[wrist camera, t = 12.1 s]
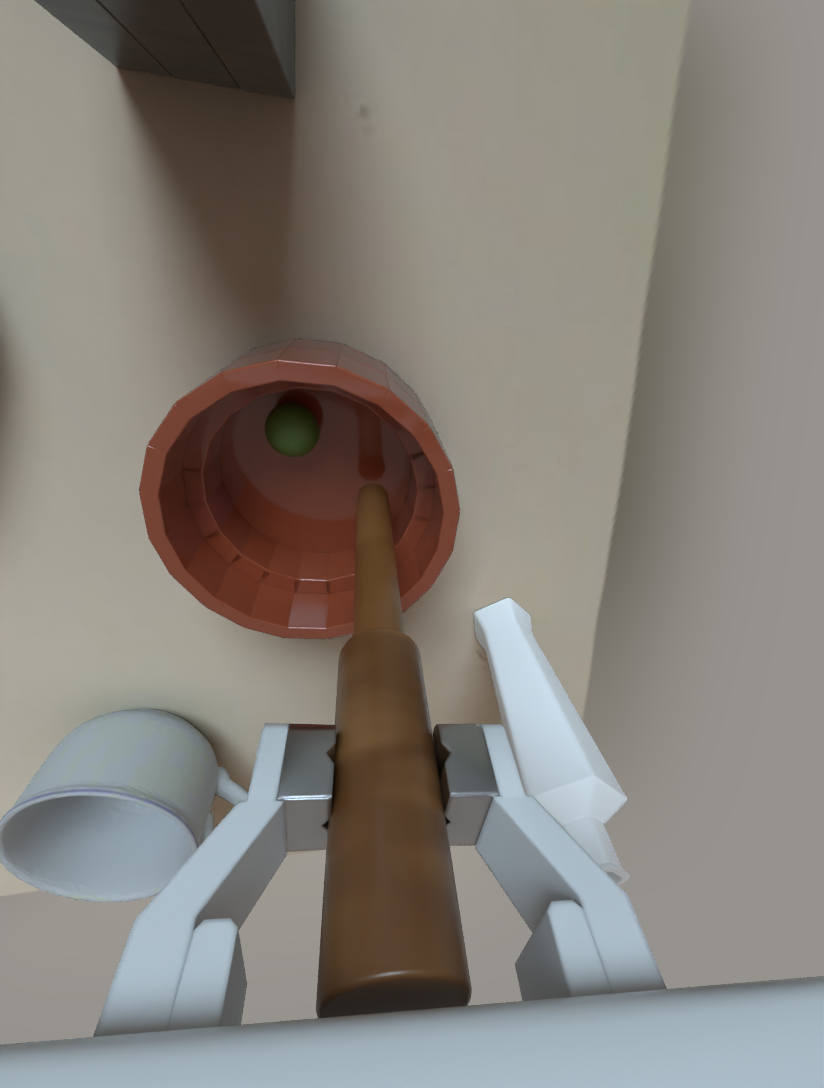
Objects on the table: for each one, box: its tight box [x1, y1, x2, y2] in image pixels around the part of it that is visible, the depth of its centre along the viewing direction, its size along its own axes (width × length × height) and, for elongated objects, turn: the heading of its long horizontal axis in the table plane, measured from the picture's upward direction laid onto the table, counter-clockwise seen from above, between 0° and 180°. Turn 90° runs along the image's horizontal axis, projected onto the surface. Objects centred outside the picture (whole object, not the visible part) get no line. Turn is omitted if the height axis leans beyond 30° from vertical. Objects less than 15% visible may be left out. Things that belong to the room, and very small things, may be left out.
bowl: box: [139, 338, 460, 639], centre depth 21 cm, size 12×12×6 cm
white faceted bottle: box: [474, 598, 630, 886], centre depth 24 cm, size 5×4×15 cm
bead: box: [265, 402, 320, 457], centre depth 21 cm, size 2×2×2 cm
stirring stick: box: [316, 484, 471, 1018], centre depth 14 cm, size 2×2×18 cm
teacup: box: [0, 709, 248, 902], centre depth 30 cm, size 14×11×8 cm
